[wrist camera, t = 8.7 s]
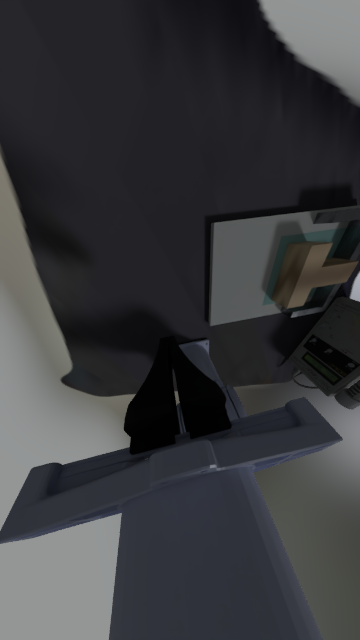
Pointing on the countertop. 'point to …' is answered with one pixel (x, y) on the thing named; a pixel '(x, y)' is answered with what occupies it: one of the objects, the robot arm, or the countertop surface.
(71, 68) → the countertop surface
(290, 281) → the t block
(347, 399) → the geiger counter
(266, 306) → the mat
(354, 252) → the bracket
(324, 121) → the countertop surface
